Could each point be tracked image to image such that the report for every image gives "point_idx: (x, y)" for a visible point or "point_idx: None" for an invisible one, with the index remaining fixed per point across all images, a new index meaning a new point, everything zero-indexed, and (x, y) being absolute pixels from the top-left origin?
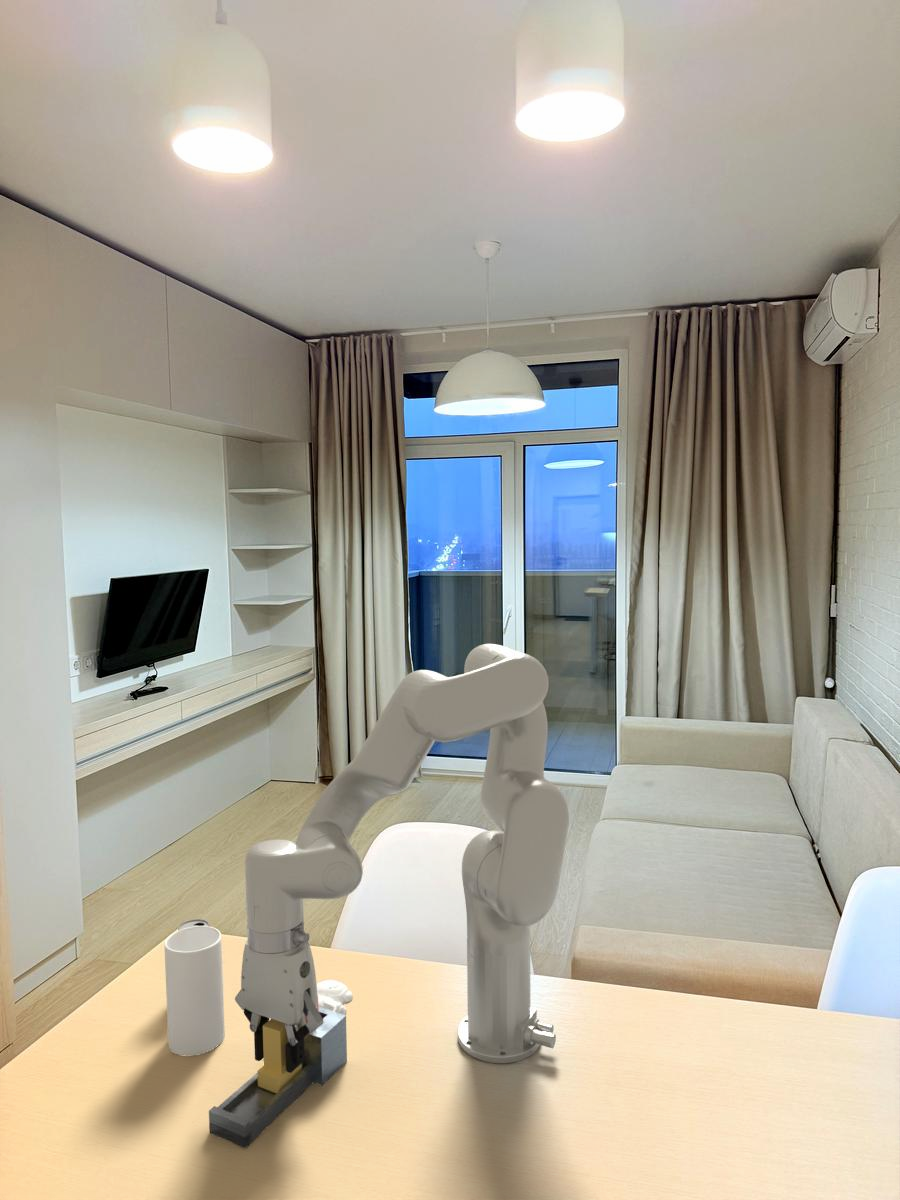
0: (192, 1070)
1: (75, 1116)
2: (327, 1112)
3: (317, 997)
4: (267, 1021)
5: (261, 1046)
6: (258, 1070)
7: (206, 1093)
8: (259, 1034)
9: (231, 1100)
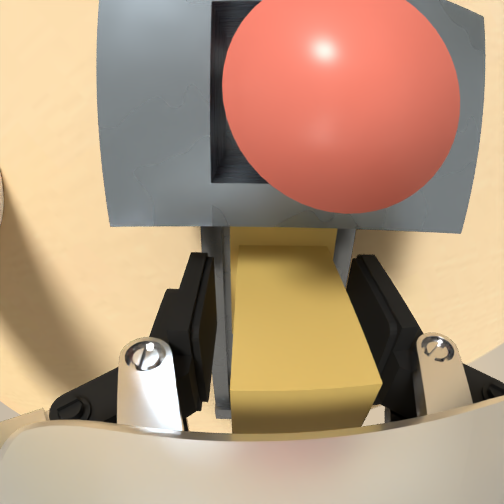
0: (32, 269)
1: (34, 394)
2: (425, 247)
3: (441, 50)
4: (185, 377)
5: (212, 350)
6: (232, 329)
7: (115, 313)
8: (204, 399)
9: (226, 378)
